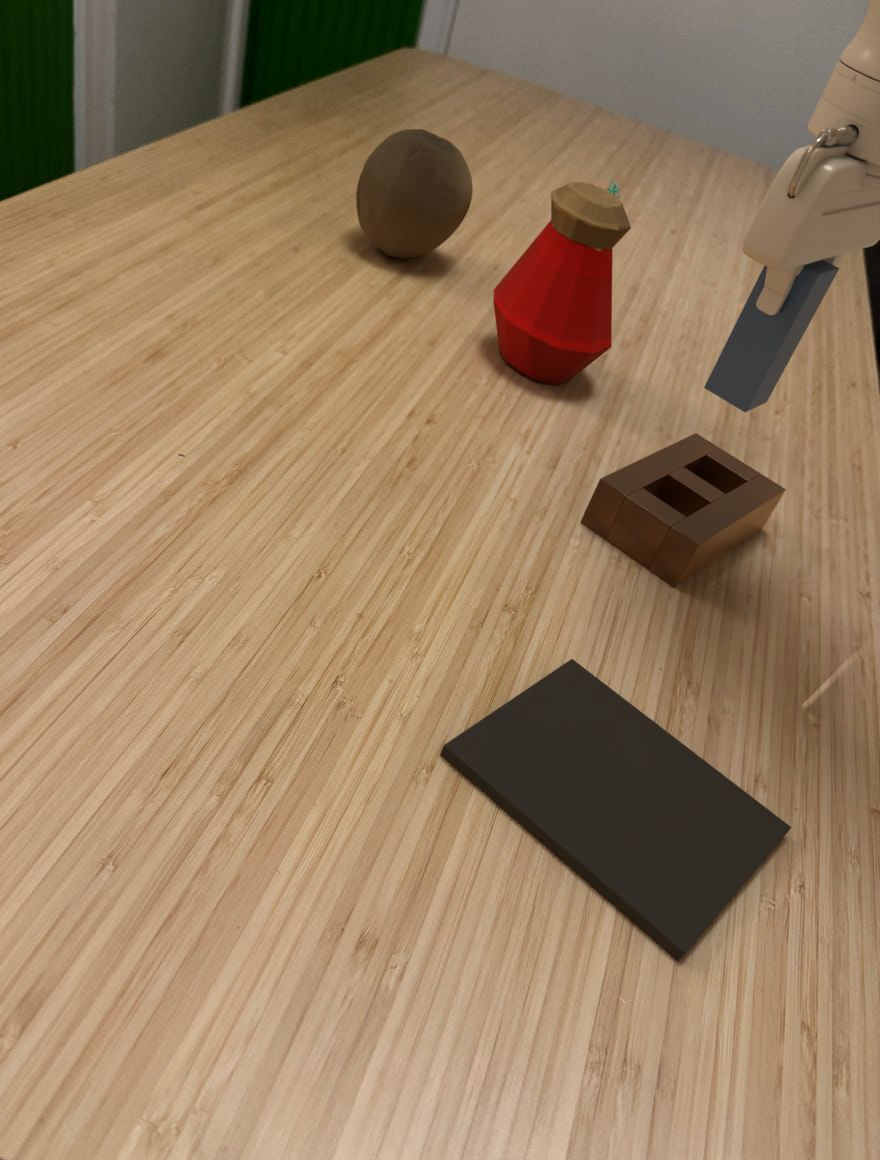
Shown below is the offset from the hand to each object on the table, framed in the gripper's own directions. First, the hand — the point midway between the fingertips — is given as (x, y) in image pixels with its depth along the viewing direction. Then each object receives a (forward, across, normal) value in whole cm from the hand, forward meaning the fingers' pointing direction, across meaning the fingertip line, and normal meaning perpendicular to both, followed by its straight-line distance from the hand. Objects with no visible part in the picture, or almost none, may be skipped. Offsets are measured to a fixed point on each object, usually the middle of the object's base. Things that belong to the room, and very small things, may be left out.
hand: (782, 306), depth 83 cm
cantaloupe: (+24, +24, +57) cm, 67 cm away
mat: (+24, -30, -15) cm, 42 cm away
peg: (+8, 0, 0) cm, 8 cm away
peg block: (+25, +5, +1) cm, 25 cm away
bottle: (+25, +18, +29) cm, 42 cm away
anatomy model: (+25, +79, +62) cm, 104 cm away
